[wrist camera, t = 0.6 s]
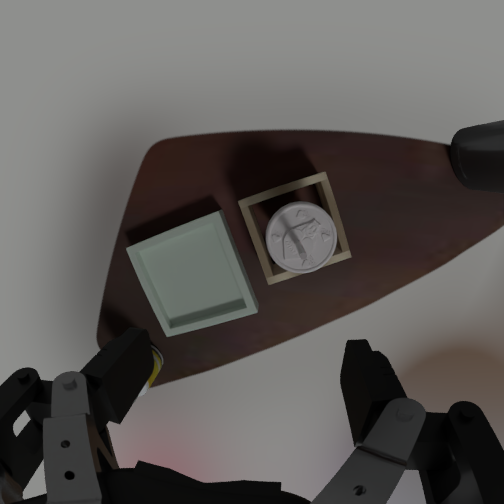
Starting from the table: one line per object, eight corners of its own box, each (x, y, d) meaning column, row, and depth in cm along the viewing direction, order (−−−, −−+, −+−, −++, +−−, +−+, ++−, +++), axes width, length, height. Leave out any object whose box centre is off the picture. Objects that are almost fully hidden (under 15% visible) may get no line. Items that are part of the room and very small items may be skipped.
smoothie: (255, 226, 34) (246, 255, 20) (290, 185, 33) (304, 186, 19) (295, 260, 35) (310, 307, 21) (330, 221, 33) (368, 245, 20)
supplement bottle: (145, 335, 39) (116, 372, 29) (170, 359, 40) (148, 400, 30) (126, 351, 40) (98, 387, 30) (151, 374, 41) (128, 413, 31)
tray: (222, 209, 34) (218, 211, 31) (258, 304, 36) (257, 312, 34) (134, 244, 36) (126, 248, 33) (172, 328, 38) (167, 336, 36)
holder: (318, 173, 32) (325, 171, 28) (341, 247, 34) (351, 257, 29) (242, 199, 33) (237, 201, 29) (268, 272, 35) (268, 284, 31)
